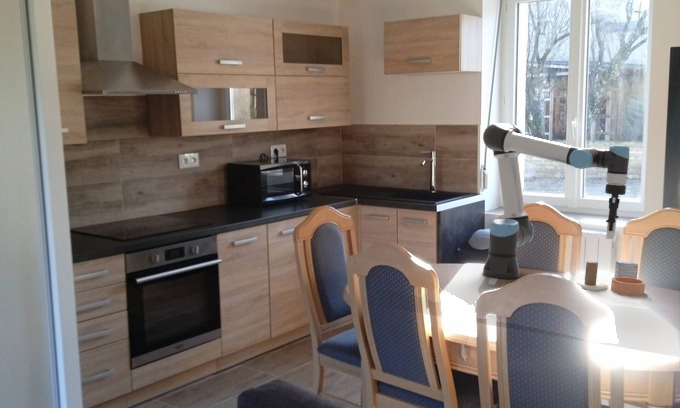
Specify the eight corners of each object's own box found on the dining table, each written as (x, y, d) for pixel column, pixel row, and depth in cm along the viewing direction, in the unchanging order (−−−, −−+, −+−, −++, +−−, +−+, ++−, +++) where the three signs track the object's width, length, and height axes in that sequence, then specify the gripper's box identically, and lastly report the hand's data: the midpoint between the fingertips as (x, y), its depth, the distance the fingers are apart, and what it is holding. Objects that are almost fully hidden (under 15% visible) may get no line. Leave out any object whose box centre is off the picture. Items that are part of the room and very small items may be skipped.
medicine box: (633, 282, 292) (635, 261, 291) (636, 284, 288) (638, 264, 287) (613, 280, 293) (615, 260, 292) (616, 283, 289) (618, 262, 288)
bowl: (609, 293, 270) (610, 281, 269) (612, 287, 281) (613, 275, 280) (643, 298, 265) (644, 285, 264) (644, 291, 276) (645, 279, 275)
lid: (570, 287, 276) (573, 263, 274) (575, 280, 287) (577, 257, 286) (605, 292, 270) (608, 267, 269) (608, 285, 282) (610, 261, 280)
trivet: (570, 288, 276) (570, 287, 276) (575, 282, 287) (575, 280, 287) (605, 293, 270) (605, 292, 270) (608, 286, 282) (608, 285, 282)
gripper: (625, 187, 264) (619, 242, 267) (626, 182, 287) (621, 233, 289) (604, 185, 267) (598, 239, 270) (607, 181, 289) (602, 231, 292)
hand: (610, 236), depth 280 cm, fingers open, 13 cm apart
